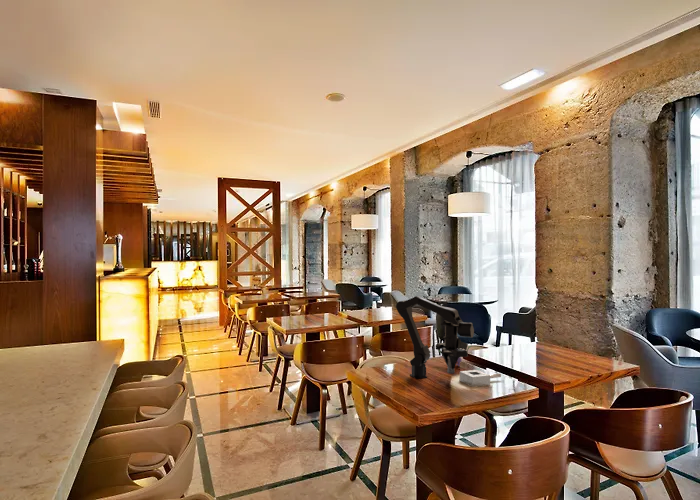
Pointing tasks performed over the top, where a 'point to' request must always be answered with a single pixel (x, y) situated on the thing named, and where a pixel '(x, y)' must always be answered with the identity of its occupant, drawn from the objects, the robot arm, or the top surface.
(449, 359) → the dark metal cylinder
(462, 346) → the robot arm
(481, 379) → the grey holed paddle
